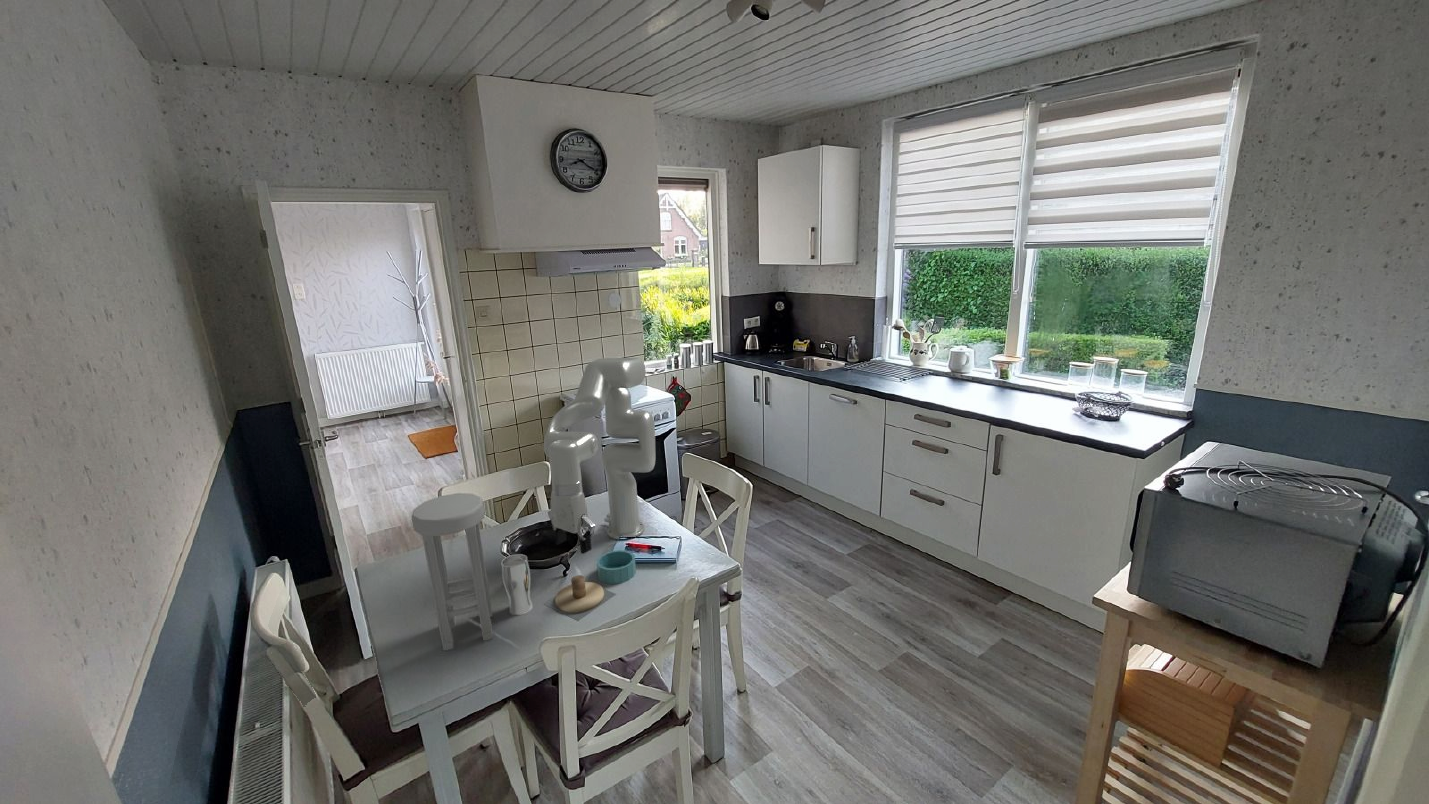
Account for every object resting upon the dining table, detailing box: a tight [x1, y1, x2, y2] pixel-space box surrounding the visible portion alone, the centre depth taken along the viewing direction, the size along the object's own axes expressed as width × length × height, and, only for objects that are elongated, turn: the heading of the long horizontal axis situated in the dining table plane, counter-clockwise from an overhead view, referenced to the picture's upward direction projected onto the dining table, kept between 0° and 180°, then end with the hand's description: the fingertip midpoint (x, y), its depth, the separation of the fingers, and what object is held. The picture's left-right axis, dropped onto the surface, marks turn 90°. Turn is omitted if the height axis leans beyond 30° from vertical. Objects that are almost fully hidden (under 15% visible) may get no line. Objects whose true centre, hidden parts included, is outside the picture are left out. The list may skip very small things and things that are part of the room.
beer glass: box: [500, 553, 534, 616], centre depth 155 cm, size 7×7×15 cm
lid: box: [555, 574, 604, 613], centre depth 159 cm, size 13×13×6 cm
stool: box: [411, 492, 494, 651], centre depth 144 cm, size 16×16×35 cm
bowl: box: [596, 549, 637, 585], centre depth 171 cm, size 11×11×5 cm
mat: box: [542, 580, 617, 622], centre depth 160 cm, size 14×14×1 cm
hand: (573, 546), depth 155 cm, fingers open, 9 cm apart
